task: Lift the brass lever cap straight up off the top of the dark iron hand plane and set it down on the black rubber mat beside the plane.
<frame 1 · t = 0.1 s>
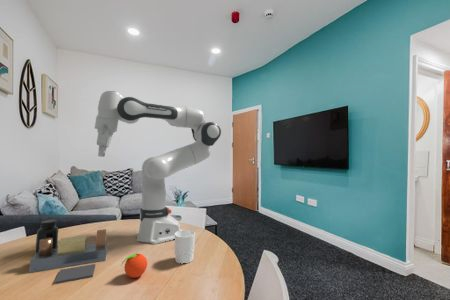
hand: (101, 156, 96), 39 cm above the table, tool pointing down, fingers open, 8 cm apart
white cup: (184, 260, 82), on the table
lever cap: (72, 250, 79), point 4 cm above the table, touching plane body
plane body: (72, 261, 79), on the table
clementine: (133, 277, 70), on the table
mat: (76, 274, 71), on the table
supplement bottle: (46, 251, 87), on the table
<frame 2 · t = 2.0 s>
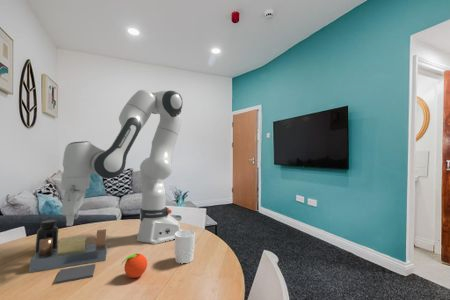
hand: (72, 221, 79), 14 cm above the table, tool pointing down, fingers open, 8 cm apart
nothing on the table moved.
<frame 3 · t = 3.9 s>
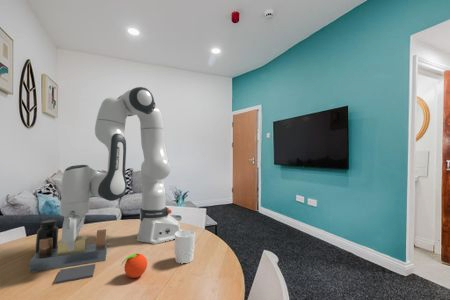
hand: (73, 246, 79), 5 cm above the table, tool pointing down, fingers closed on lever cap, 5 cm apart
lever cap: (72, 250, 79), point 4 cm above the table, touching gripper, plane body
everything else where it was.
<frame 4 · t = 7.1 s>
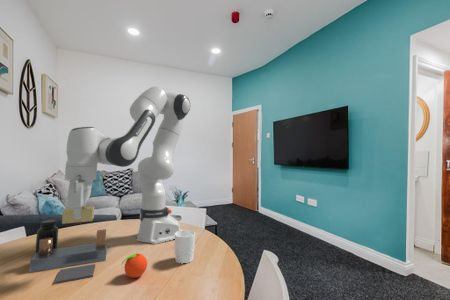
hand: (79, 216, 71), 19 cm above the table, tool pointing down, fingers closed on lever cap, 5 cm apart
lever cap: (78, 220, 71), point 17 cm above the table, touching gripper
everything else where it was.
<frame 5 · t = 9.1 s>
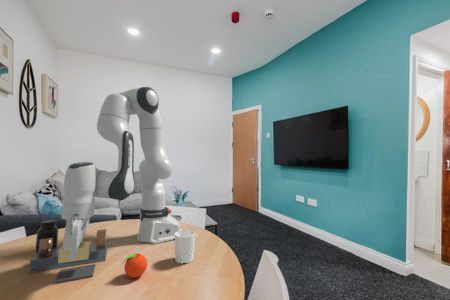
hand: (75, 253, 71), 7 cm above the table, tool pointing down, fingers closed on lever cap, 5 cm apart
lever cap: (75, 257, 71), point 5 cm above the table, touching gripper
everything else where it was.
when the fingers open (3 cm above the table, at t = 10.7 s): lever cap drops 1 cm, resting on mat.
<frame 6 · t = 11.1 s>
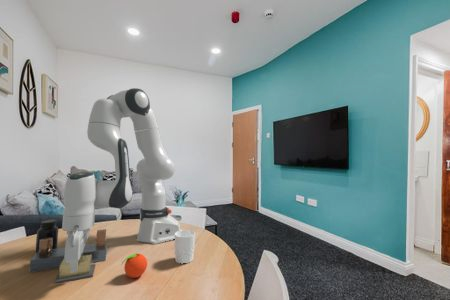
hand: (76, 264, 71), 3 cm above the table, tool pointing down, fingers open, 8 cm apart
lever cap: (76, 272, 71), point 1 cm above the table, touching mat
everything else where it was.
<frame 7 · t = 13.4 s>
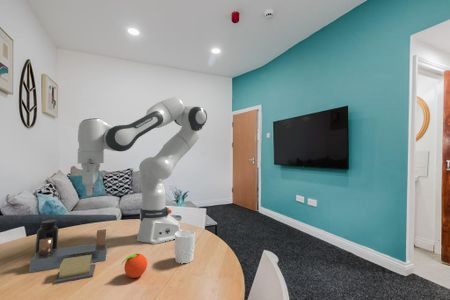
hand: (90, 193, 86), 24 cm above the table, tool pointing down, fingers open, 8 cm apart
nothing on the table moved.
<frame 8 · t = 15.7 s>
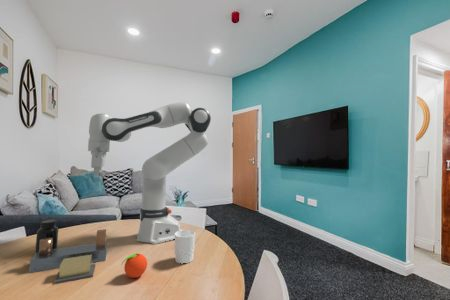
hand: (97, 176, 102), 29 cm above the table, tool pointing down, fingers open, 8 cm apart
nothing on the table moved.
at the end: lever cap inside the target area on the mat (0.1 cm from its centre), point 0.6 cm above the mat's base; lever cap touching mat; the gripper is holding nothing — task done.
